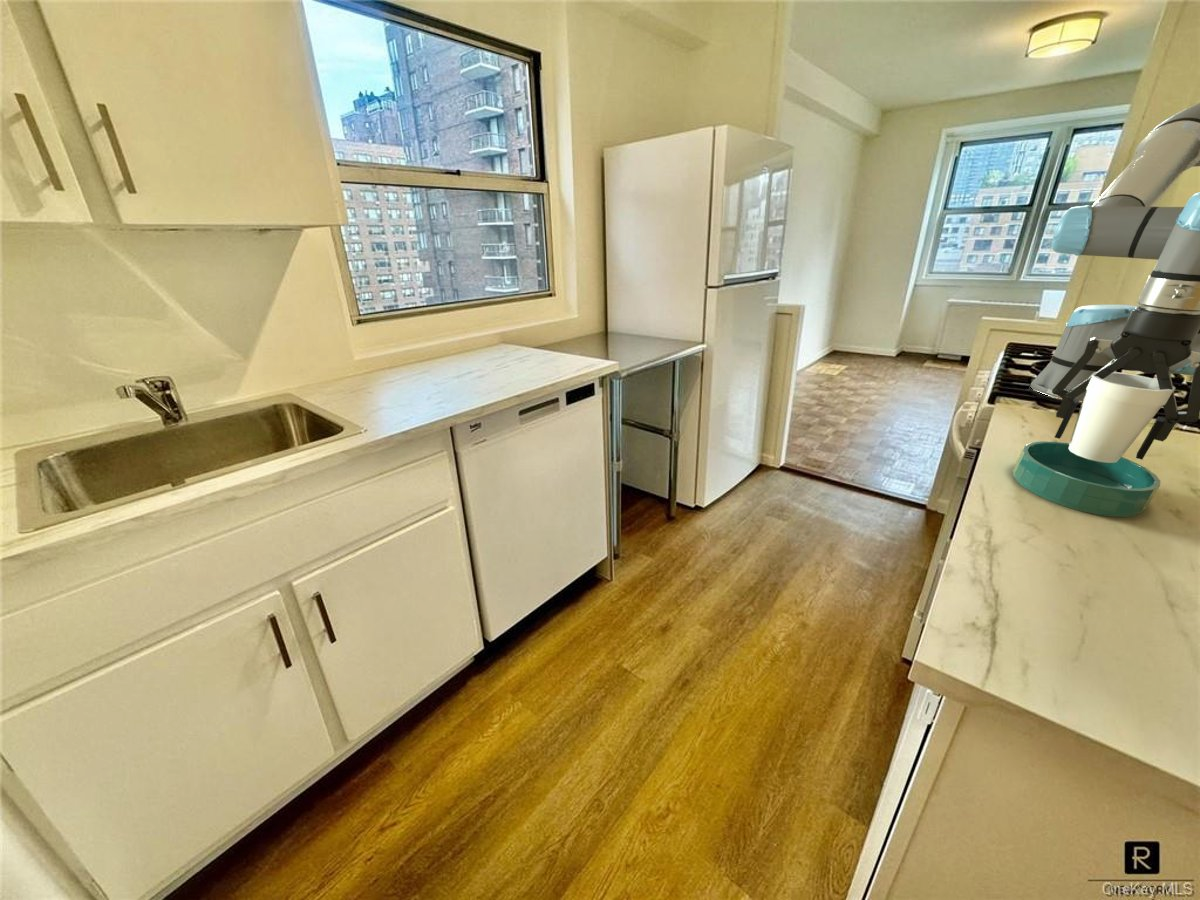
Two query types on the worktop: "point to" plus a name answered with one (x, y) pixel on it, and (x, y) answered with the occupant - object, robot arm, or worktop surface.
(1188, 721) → the worktop surface
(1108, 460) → the foam cup
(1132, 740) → the worktop surface
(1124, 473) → the teal plant saucer
